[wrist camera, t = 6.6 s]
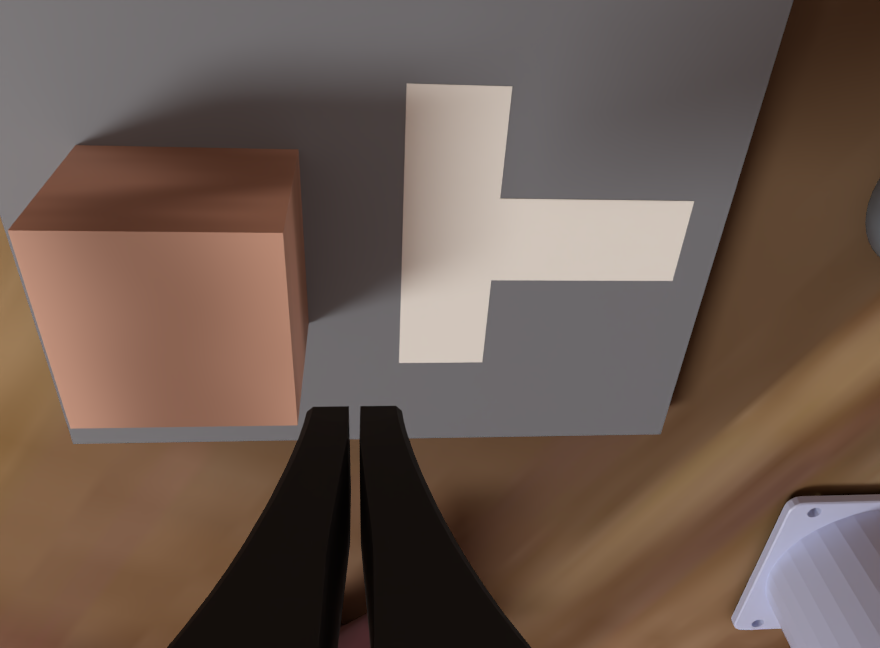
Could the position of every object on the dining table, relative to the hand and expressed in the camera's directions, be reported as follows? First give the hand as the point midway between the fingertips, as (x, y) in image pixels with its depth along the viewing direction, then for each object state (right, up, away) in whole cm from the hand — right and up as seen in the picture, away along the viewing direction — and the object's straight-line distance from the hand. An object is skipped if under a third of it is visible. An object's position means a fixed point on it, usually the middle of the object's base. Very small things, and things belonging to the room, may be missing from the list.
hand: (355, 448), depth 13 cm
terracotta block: (-4, +4, +6) cm, 8 cm away
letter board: (0, +5, +7) cm, 8 cm away
